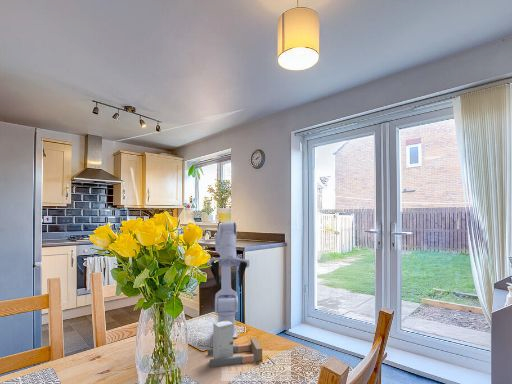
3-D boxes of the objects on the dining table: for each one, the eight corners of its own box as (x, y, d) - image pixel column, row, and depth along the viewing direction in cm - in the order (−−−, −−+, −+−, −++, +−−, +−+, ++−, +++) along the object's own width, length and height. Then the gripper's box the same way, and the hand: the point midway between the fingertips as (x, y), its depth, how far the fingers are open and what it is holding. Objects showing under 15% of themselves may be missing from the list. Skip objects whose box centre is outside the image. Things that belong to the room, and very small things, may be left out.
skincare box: (218, 363, 102) (218, 327, 103) (212, 358, 106) (212, 323, 107) (233, 358, 106) (233, 323, 107) (227, 354, 109) (227, 319, 110)
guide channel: (207, 354, 109) (207, 342, 110) (255, 348, 113) (255, 337, 114) (210, 366, 100) (210, 354, 100) (262, 360, 104) (262, 348, 105)
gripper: (209, 242, 105) (208, 278, 96) (249, 244, 108) (252, 279, 99) (207, 253, 110) (206, 288, 101) (246, 255, 113) (248, 289, 104)
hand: (229, 284), depth 100 cm, fingers open, 7 cm apart
